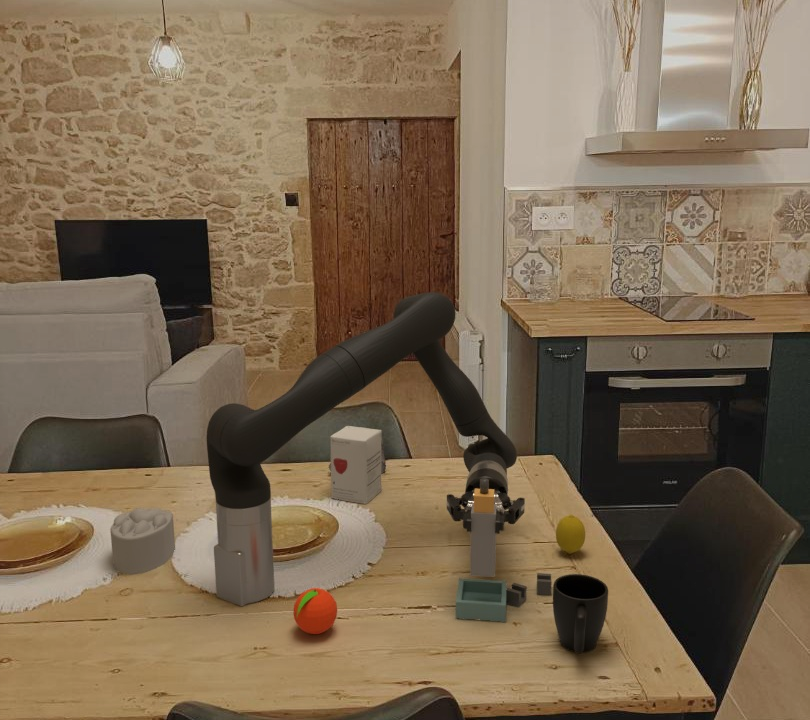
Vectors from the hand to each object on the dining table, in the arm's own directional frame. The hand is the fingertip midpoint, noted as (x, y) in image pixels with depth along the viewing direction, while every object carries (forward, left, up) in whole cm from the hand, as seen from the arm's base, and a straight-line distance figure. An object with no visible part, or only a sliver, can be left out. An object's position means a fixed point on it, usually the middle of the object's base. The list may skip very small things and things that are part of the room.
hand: (483, 527), depth 129 cm
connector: (+3, +1, -9) cm, 9 cm away
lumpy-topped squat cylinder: (-16, +64, -16) cm, 68 cm away
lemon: (+29, -4, -16) cm, 34 cm away
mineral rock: (+44, +57, -16) cm, 73 cm away
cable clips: (+10, -4, -16) cm, 19 cm away
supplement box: (+31, +48, -16) cm, 60 cm away
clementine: (-19, +20, -16) cm, 32 cm away
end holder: (+2, +1, -16) cm, 16 cm away
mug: (-1, -17, -16) cm, 23 cm away
